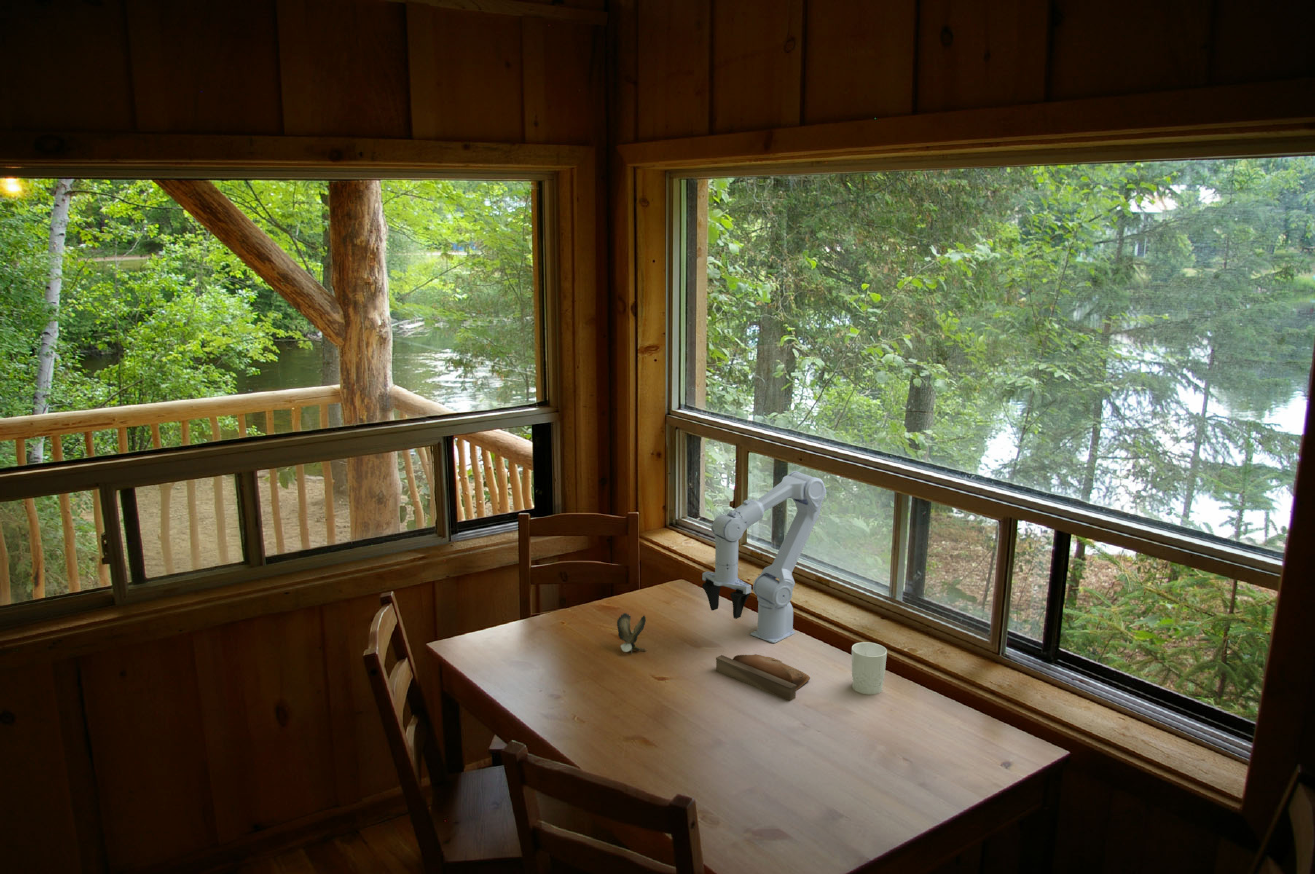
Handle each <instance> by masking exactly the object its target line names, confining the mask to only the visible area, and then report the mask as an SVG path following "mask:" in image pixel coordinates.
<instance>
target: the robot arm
mask: <svg viewBox="0 0 1315 874" xmlns="http://www.w3.org/2000/svg"><path fill="white" fill-rule="evenodd" d="M827 492H828V491H827V489H826V486H825V483H824V481H823V480H822V479H821V478H819V477H814V476H811V475H809V474H805V473H803V472H802V473H801V471H797V470H794V471H791V472H790V473H788V474H786V475H785V476H783V477H782V480H781V482H779V483H778V484H777V485H775V486H774V487H773V488H771V489H770V490H769V491H767V492H766V493H764V494H763V495H762V496H760V497H759V498H758V499H757V500H756V499H752V498H751V499H744V500H743V501H742V502H743V503H742V504H740V505H739V506H738V507H737V506H736V508H734V509H731V510H729V511H728V513H727V514H726V513H725V514H724V513H723V514H722V513H720V514H719V515H717V516H716V518H714V520H713V522H712V525H710V529H711V532H712V534H713V535H714V541H715V554H714V555H715V562H714V563H715V566H714V568H715V569H714V572H713V571H708V570H707V571H704V572H702V577H701V578H702V581H703V583H702V585H701V587H702V588H703V590H704V592H705V595H706V596H707V600H708V604H709V606H710V607H709V608H710V610H711V611H716V610H718V609H719V605H720V592H721V587H726V588H729V589H732V590H735V591H733V592H731V593H730V594H729V596H730V598H731V602H732V609H733V610H732V616H733V619H735V620H736V619H737V620H738V619H739V618H741V617H742V613H743V610H744V608H745V604H746V602H747V600H748V599H749V597H750V595H751V594H752V591H753V593H754V595H755V596H756V597H757V599H756V600H757V601H758V603H757V604H758V607H757V630H754V631H752V632H750V636H753V637H755V638H758V639H760V640H764V641H766V642H769V643H772V644H775V643H778V642H780V641H782V640H784V639H786V638H788V637H791V636H792V635H795V634H796V631H795V630H793V629H794V626H793V625H794V608H793V605H792V603H791V600H792V598H793V591H794V587H795V586H796V582H795V579H794V577H793V574H792V573H793V571H794V569H795V567H796V565H797V562H798V560H799V558H800V556H801V554H802V553H803V550H804V548H805V546H806V543H807V542H808V539H809V537H810V536H811V533H812V531H813V529H814V527H815V524H816V523H817V520H818V518H819V516H820V514H821V510H822V504H823V503H822V502H823V501H824V499H825V496H826V494H827ZM788 499H791V500H792V501H793V503H794V504H795V507H796V510H797V511H796V514H795V515H794V518H793V520H792V522H791V524H790V526H789V527H788V528H789V529H788V530H787V532H786V534H785V537H784V539H783V541H782V542H781V545H780V547H779V549H778V552H777V553H776V556H775V557H774V560H773V562H772V564H770V565H768V566H765V567H764V568H763V569H762V571H761V572H760V574H759V575H758V576H757V577H756V579H755V580H754V581H753V583H752V584H753V586H752V585H751V584H749V583H748V582H745V581H744V580H742V579H740V578H739V542H740V541H739V540H741V538H742V537H743V535H744V532H745V531H746V530H747V529H749V528H750V527H751V526H753V525H754V524H756V523H758V522H759V521H761V520H762V519H763V518H764V514H765V512H766V511H768V510H770V509H772V508H773V507H775V506H777V505H778V504H781V503H782V502H785V501H786V500H788Z"/></svg>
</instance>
